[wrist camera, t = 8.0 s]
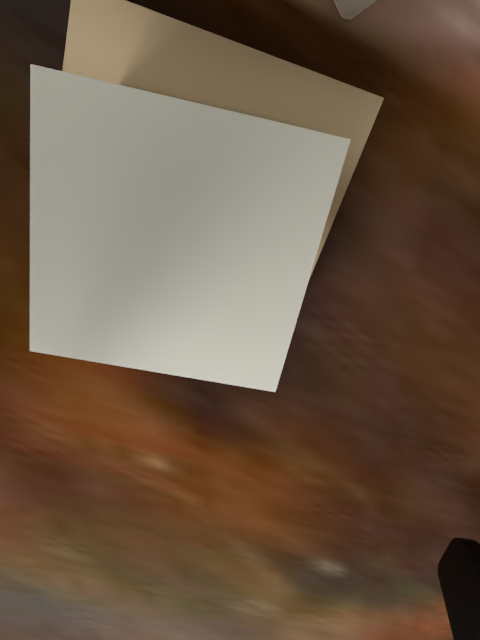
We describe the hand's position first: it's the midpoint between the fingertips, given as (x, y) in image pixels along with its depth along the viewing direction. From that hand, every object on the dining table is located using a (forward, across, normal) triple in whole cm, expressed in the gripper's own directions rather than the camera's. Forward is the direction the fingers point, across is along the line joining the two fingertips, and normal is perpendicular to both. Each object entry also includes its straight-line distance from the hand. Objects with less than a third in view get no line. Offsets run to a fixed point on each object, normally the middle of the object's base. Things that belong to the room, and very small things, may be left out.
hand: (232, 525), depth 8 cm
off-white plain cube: (+8, +2, -5) cm, 10 cm away
